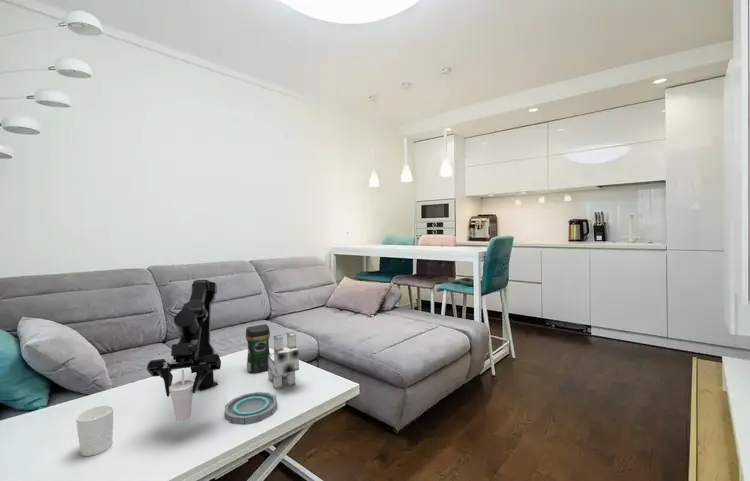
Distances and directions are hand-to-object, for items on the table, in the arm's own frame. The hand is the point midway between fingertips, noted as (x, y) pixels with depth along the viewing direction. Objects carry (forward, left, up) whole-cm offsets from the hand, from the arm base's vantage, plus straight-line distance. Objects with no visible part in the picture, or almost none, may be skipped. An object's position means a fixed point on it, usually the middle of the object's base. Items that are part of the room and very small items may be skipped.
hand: (180, 394), depth 98 cm
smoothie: (-1, +1, -8) cm, 8 cm away
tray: (+1, +21, -13) cm, 25 cm away
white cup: (-15, -16, -13) cm, 26 cm away
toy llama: (-7, +39, -13) cm, 42 cm away
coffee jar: (-26, +41, -13) cm, 50 cm away
